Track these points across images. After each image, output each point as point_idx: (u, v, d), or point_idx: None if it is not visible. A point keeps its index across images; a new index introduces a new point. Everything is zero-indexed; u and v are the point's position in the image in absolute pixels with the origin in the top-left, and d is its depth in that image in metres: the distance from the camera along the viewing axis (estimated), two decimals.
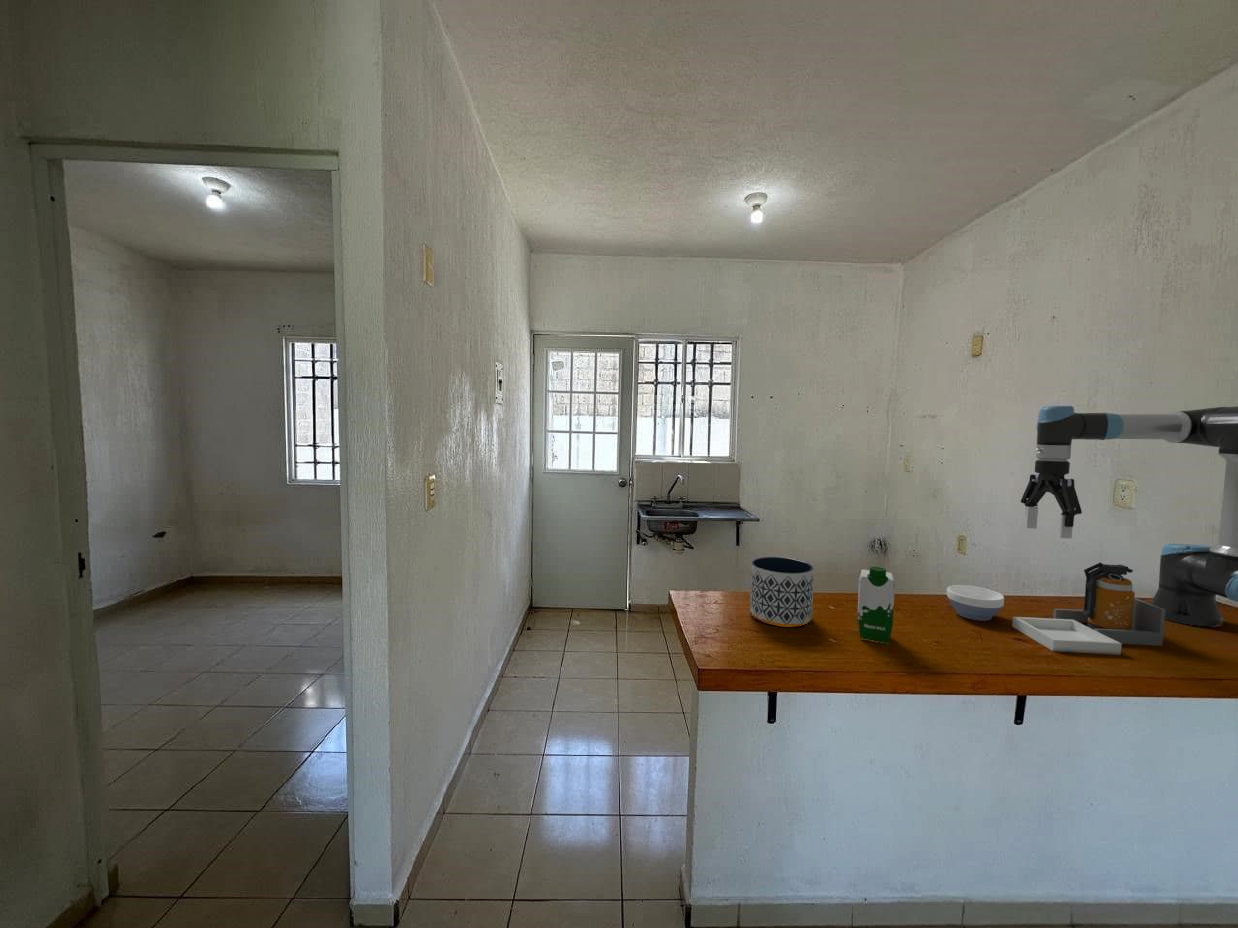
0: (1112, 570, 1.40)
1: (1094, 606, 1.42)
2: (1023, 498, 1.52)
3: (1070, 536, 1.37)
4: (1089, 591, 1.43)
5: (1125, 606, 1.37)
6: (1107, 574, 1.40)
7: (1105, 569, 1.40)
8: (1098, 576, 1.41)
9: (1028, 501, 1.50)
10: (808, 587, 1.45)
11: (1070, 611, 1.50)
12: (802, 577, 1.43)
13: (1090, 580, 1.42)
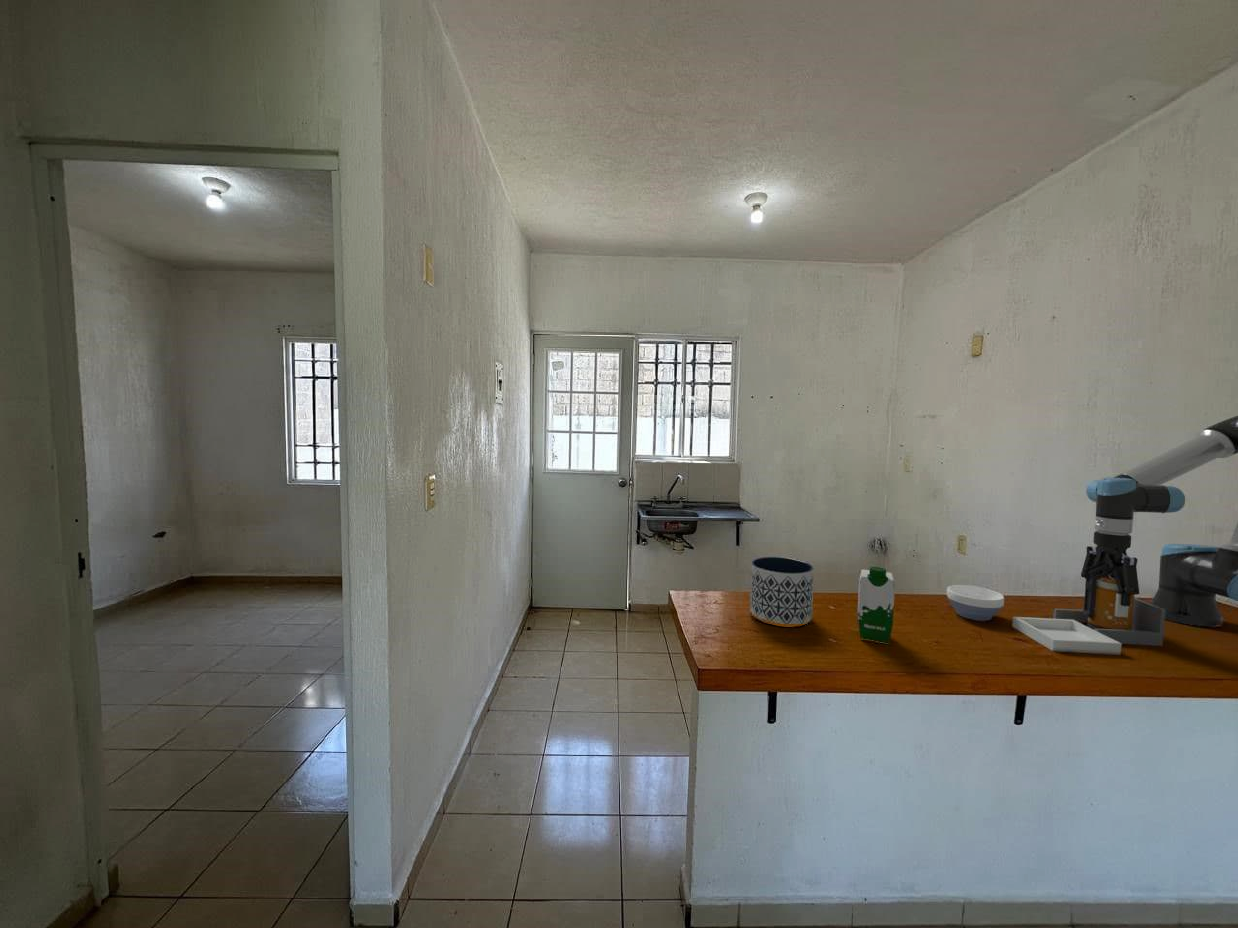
0: (1112, 570, 1.40)
1: (1094, 606, 1.42)
2: (1083, 572, 1.49)
3: (1126, 615, 1.37)
4: (1089, 591, 1.43)
5: None
6: (1107, 574, 1.40)
7: (1105, 569, 1.40)
8: (1098, 576, 1.41)
9: None
10: (808, 587, 1.45)
11: (1070, 611, 1.50)
12: (802, 577, 1.43)
13: (1090, 580, 1.42)
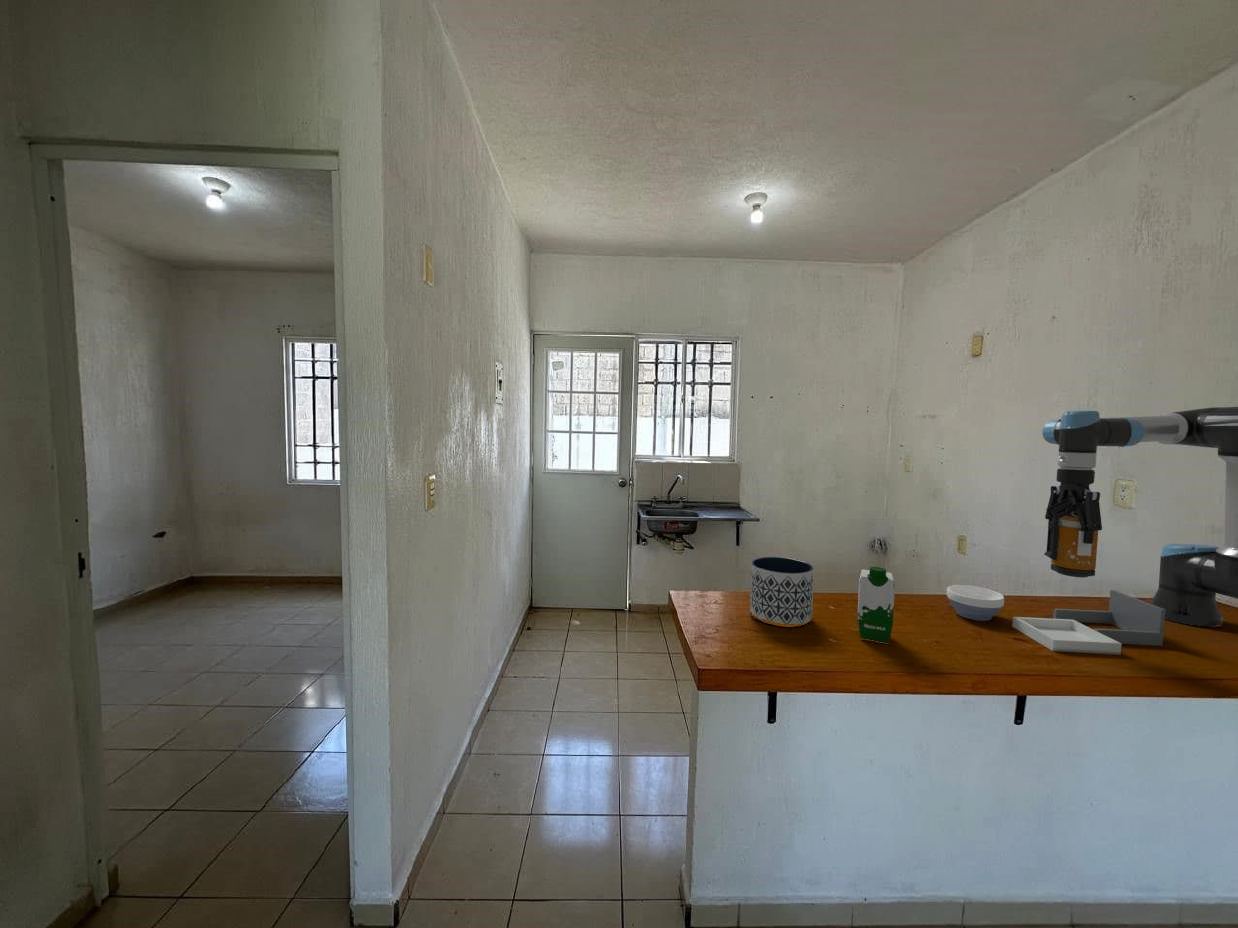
0: (1075, 508, 1.33)
1: (1057, 547, 1.35)
2: (1047, 513, 1.42)
3: (1089, 553, 1.30)
4: (1052, 531, 1.36)
5: None
6: (1070, 512, 1.34)
7: (1068, 507, 1.34)
8: (1060, 514, 1.34)
9: None
10: (808, 587, 1.45)
11: (1070, 611, 1.50)
12: (802, 577, 1.43)
13: (1052, 519, 1.36)
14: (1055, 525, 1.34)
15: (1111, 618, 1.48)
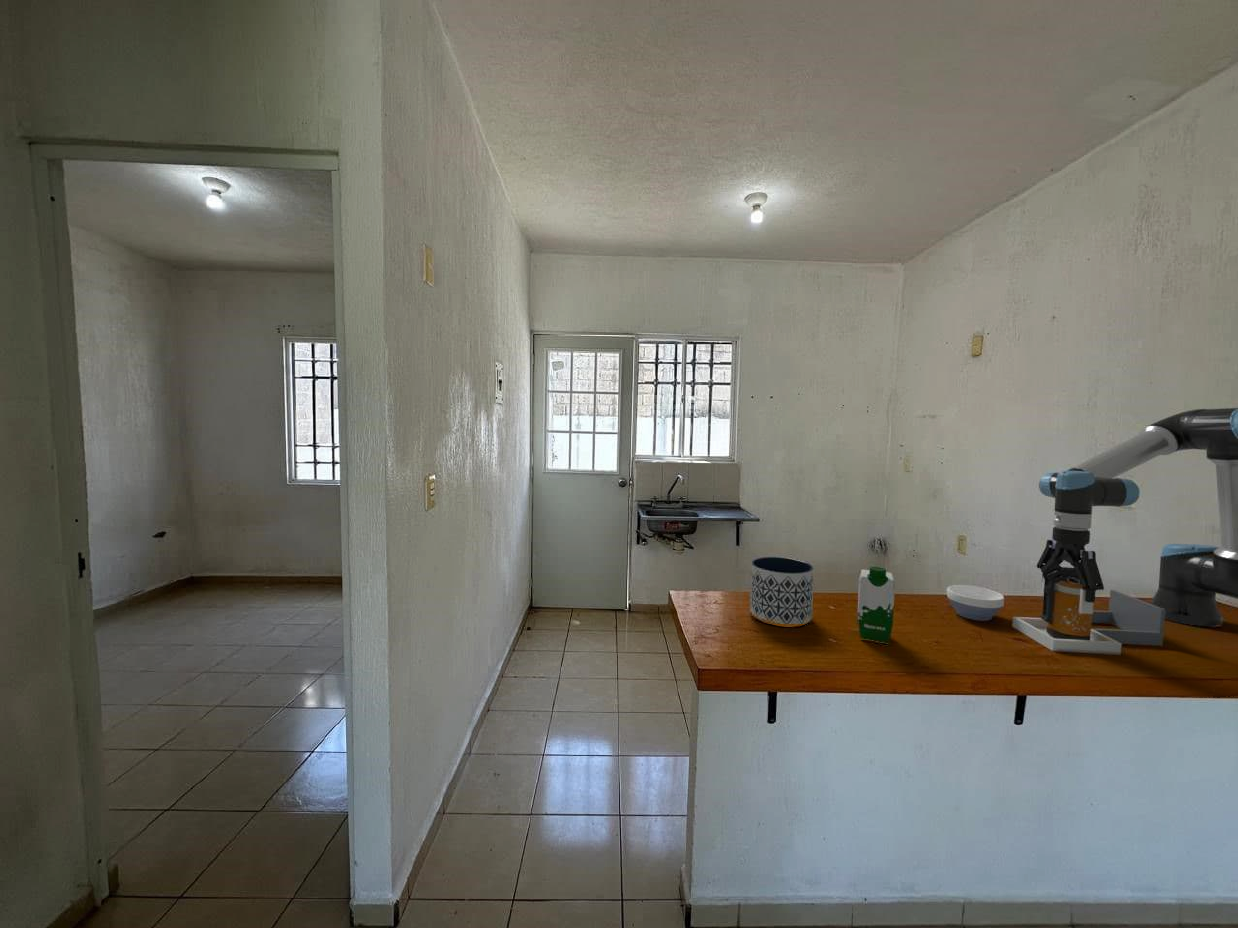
0: (1070, 573, 1.35)
1: (1052, 611, 1.36)
2: (1039, 563, 1.45)
3: (1091, 611, 1.29)
4: (1047, 595, 1.37)
5: None
6: (1065, 577, 1.35)
7: (1063, 572, 1.35)
8: (1056, 579, 1.35)
9: (1045, 567, 1.43)
10: (808, 587, 1.45)
11: None
12: (802, 577, 1.43)
13: (1048, 584, 1.37)
14: (1051, 590, 1.36)
15: (1111, 618, 1.48)
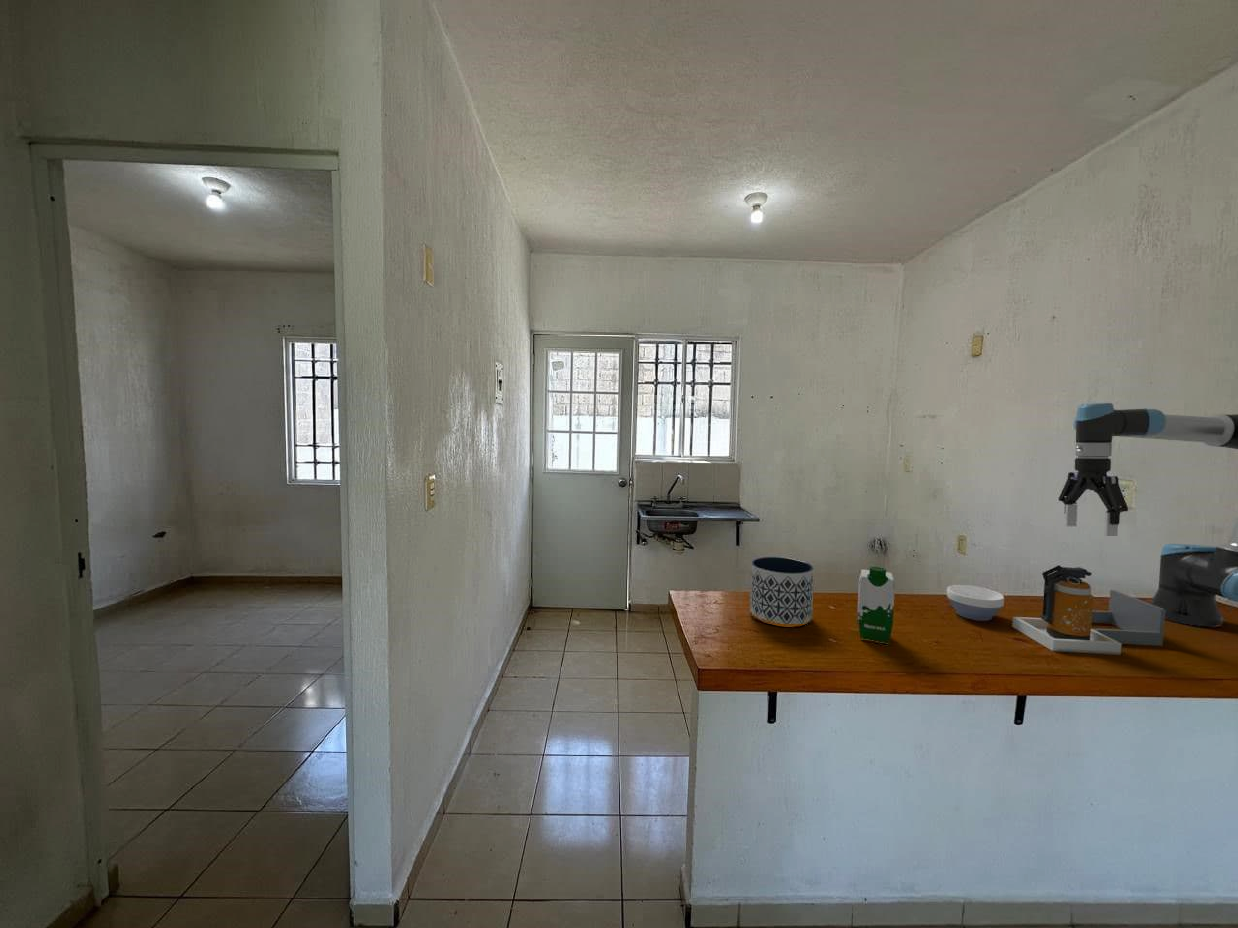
0: (1070, 573, 1.35)
1: (1052, 611, 1.36)
2: (1061, 496, 1.52)
3: (1116, 534, 1.36)
4: (1047, 595, 1.37)
5: (1084, 611, 1.32)
6: (1065, 577, 1.35)
7: (1063, 572, 1.35)
8: (1056, 579, 1.35)
9: (1067, 499, 1.50)
10: (808, 587, 1.45)
11: None
12: (802, 577, 1.43)
13: (1048, 584, 1.37)
14: (1051, 590, 1.36)
15: (1111, 618, 1.48)
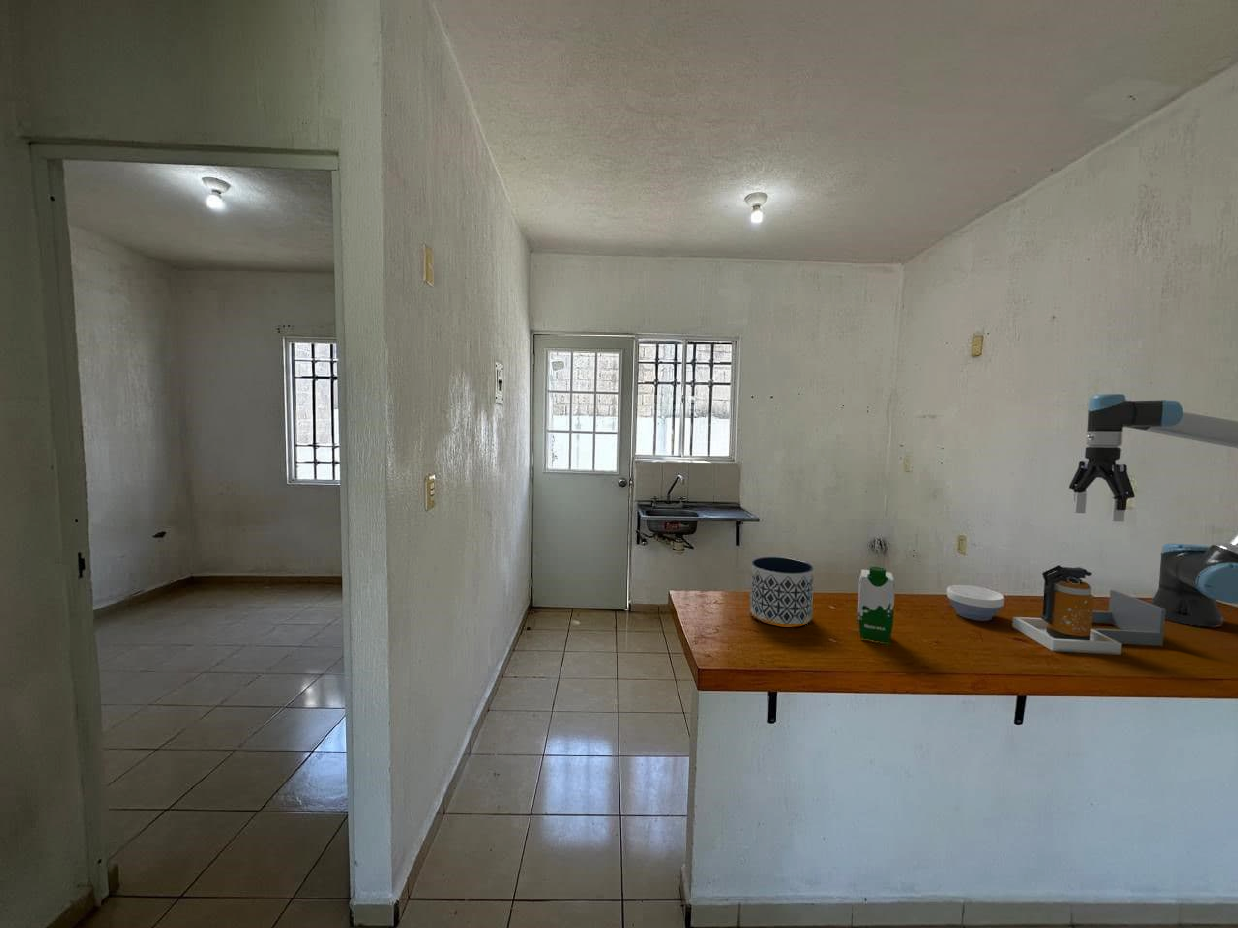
0: (1070, 573, 1.35)
1: (1052, 611, 1.36)
2: (1072, 484, 1.58)
3: (1122, 519, 1.42)
4: (1047, 595, 1.37)
5: (1084, 611, 1.32)
6: (1065, 577, 1.35)
7: (1063, 572, 1.35)
8: (1056, 579, 1.35)
9: (1077, 487, 1.56)
10: (808, 587, 1.45)
11: None
12: (802, 577, 1.43)
13: (1048, 584, 1.37)
14: (1051, 590, 1.36)
15: (1111, 618, 1.48)
